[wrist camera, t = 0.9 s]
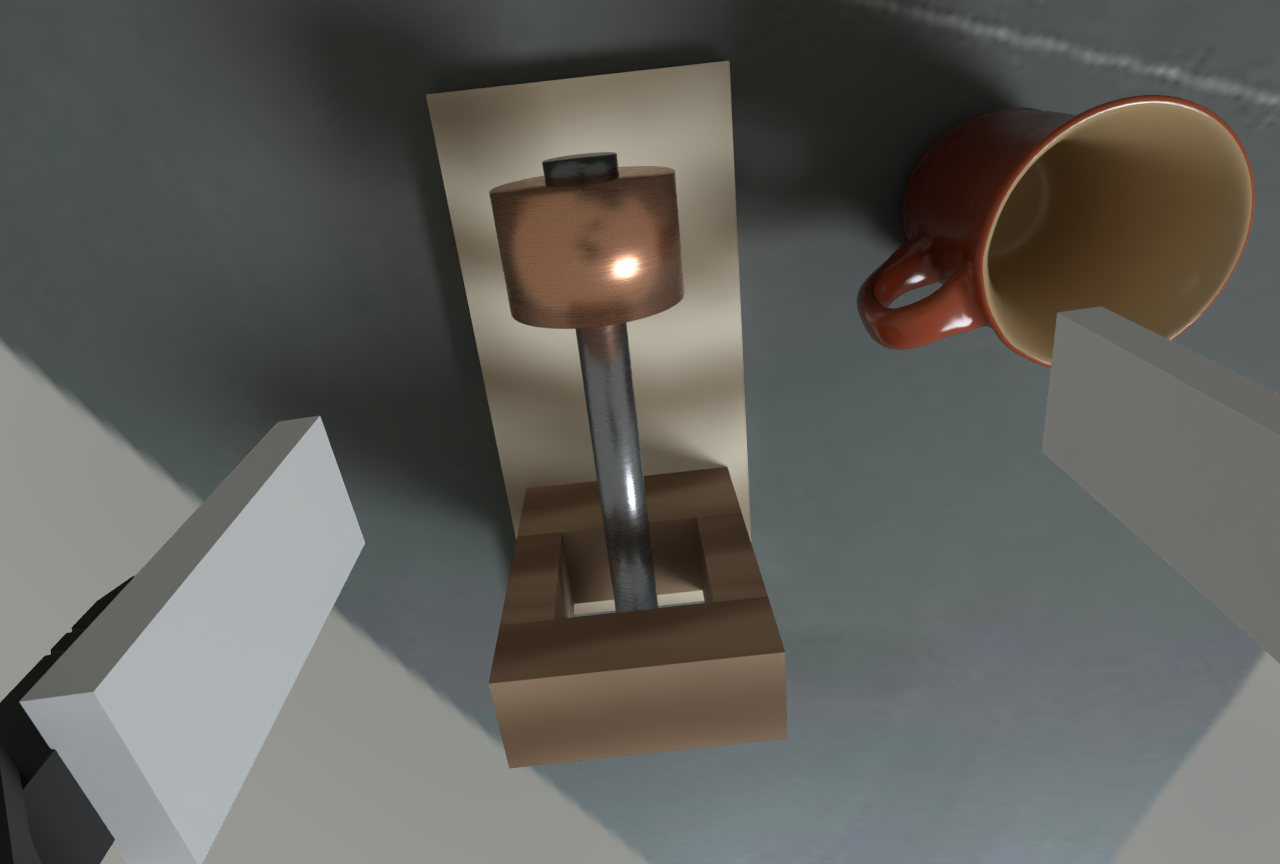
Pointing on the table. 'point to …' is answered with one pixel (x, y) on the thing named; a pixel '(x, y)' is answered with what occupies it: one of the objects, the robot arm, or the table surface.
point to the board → (659, 345)
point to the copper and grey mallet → (599, 314)
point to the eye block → (636, 631)
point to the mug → (1066, 224)
